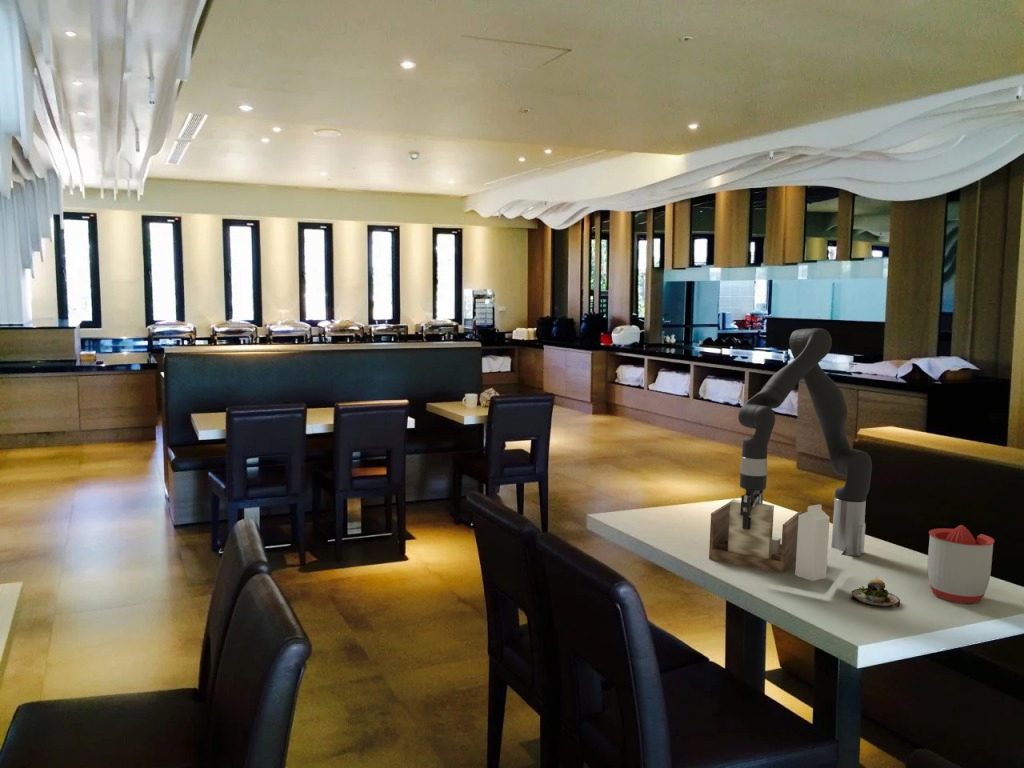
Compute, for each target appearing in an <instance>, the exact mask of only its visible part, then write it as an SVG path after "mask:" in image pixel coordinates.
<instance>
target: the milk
mask: <svg viewBox="0 0 1024 768" xmlns="http://www.w3.org/2000/svg"><path fill="white" fill-rule="evenodd" d="M830 518H831V517H830V516H829V515H828V514H827V513H826V512H825V511H824V510H823V509H822V504H816V505H815V504H814V505H808V507H807V511H806V512H803V514H801V515H799V518H798V535H797V552H796V561H795V571H794V572H795V573H794V575H795V576H797V577H800V578H802V579H805V580H808V581H812V582H815V581H819V580H822V579H826V578H827V568H828V567H827V566H828V554H829V550H828V548H829V537H830V536H829V533H830V520H831V519H830Z"/></svg>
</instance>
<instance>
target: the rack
mask: <svg viewBox="0 0 1024 768" xmlns="http://www.w3.org/2000/svg"><path fill="white" fill-rule="evenodd" d="M803 513H804V511H802V510H799V511H798V512H797V513H795V514H794V515H793V516H791V517H790V518H789V519H788V520H786V521H785V522H784V523H783V524H782V528H781V529H782V531H781V534H782V535H781V543H780V555H777V554H771V559H765V558H760V557H755V556H749V555H744V554H739V553H733V552H728V538H729V519H730V501H729V502H727V503H725V504H724V505H722V506H720V507H718V508H717V509H716V510H714V511H712V512H711V513H710V528H709V548H708V551H709V552H708V560H713V561H718V562H723V563H729V564H733V565H739V566H744V567H748V568H753V569H759V570H763V571H769V572H775V573H778V574H779V573H780V574H785V573H786V572H787V570H789V568H790V567H791V566H792V565H793V564H794V563H796V552H797V535H798V518H799V515H801V514H803Z"/></svg>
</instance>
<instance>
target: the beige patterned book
mask: <svg viewBox="0 0 1024 768" xmlns="http://www.w3.org/2000/svg"><path fill="white" fill-rule="evenodd" d="M729 502H730V519H729V538H728V552H733V553H739V554H744V555H749V556H755V557H760V558H765V559H771V550H772V537H773V531H774V529H773V528H774V514H775V513H774V512H775V505H773V504H767V503H763V504H761V503H756V507H755V510H754V511H753V512H752V516H751V529H750V530H745V529H743V528H742V526H743V516H742V515H740V511H741V499H731V500H730V501H729ZM746 512H747V510H746Z"/></svg>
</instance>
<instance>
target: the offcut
mask: <svg viewBox="0 0 1024 768" xmlns="http://www.w3.org/2000/svg"><path fill="white" fill-rule="evenodd" d="M781 543H782V537H775V536H772V550H771V554H777V555H780V544H781Z"/></svg>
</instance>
